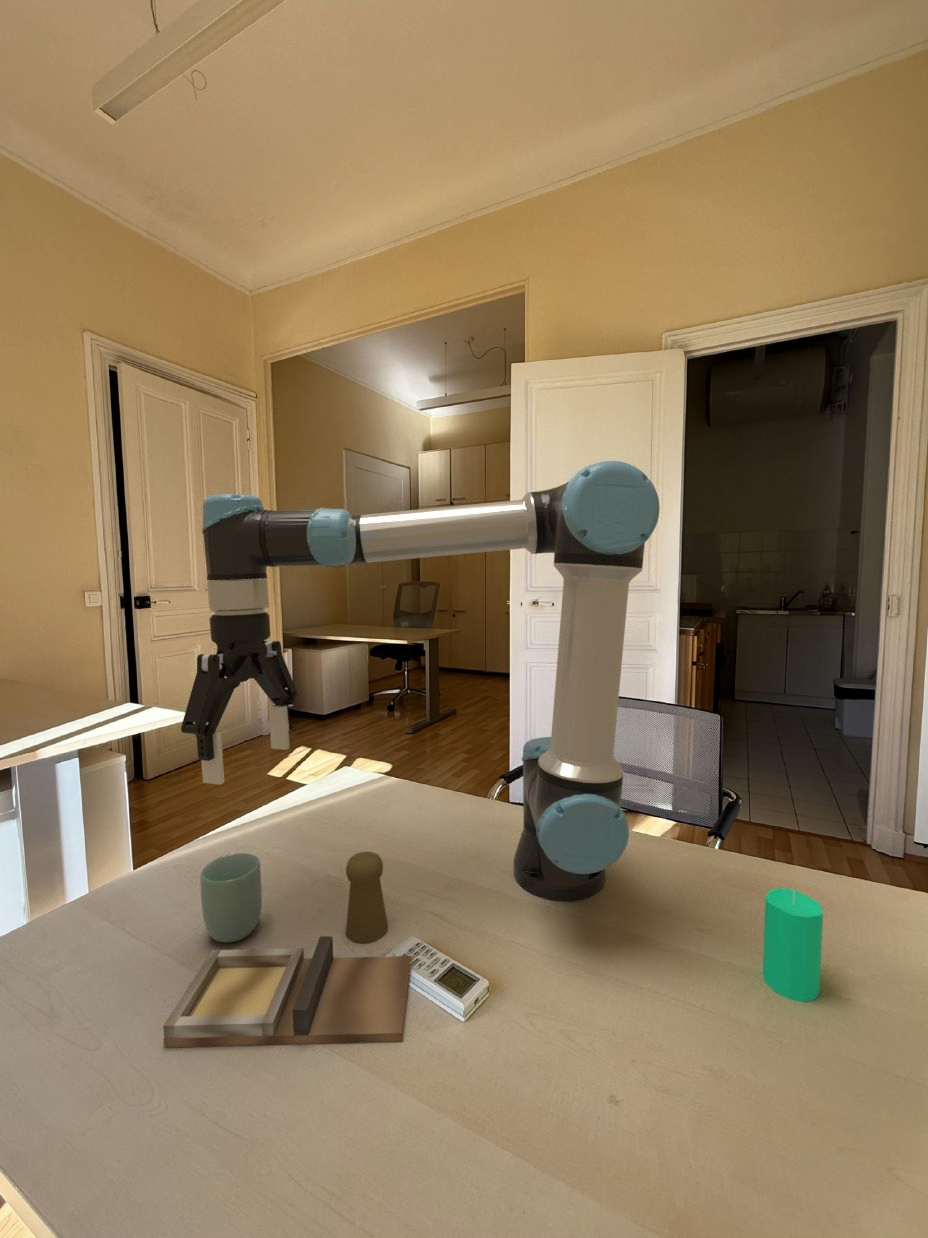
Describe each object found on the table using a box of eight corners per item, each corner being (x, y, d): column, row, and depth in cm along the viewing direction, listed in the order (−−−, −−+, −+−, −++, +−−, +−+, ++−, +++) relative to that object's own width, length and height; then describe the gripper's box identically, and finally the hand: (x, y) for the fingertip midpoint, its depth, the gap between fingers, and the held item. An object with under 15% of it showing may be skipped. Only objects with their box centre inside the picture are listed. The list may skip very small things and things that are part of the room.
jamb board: (411, 963, 72) (410, 934, 72) (401, 1041, 60) (400, 1007, 60) (213, 968, 72) (211, 939, 72) (164, 1047, 60) (161, 1013, 60)
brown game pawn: (337, 938, 78) (333, 863, 77) (360, 912, 83) (357, 843, 82) (374, 948, 75) (371, 871, 74) (395, 921, 81) (393, 850, 80)
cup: (243, 955, 75) (238, 884, 74) (192, 948, 76) (187, 879, 75) (273, 919, 82) (270, 854, 81) (227, 913, 84) (223, 850, 83)
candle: (800, 1009, 64) (804, 911, 62) (752, 975, 69) (754, 884, 68) (830, 990, 66) (834, 895, 65) (781, 959, 72) (785, 871, 71)
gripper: (274, 605, 88) (282, 735, 90) (138, 621, 64) (153, 797, 66) (315, 605, 85) (322, 738, 87) (189, 621, 62) (203, 804, 64)
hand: (249, 764), depth 77 cm, fingers open, 13 cm apart
